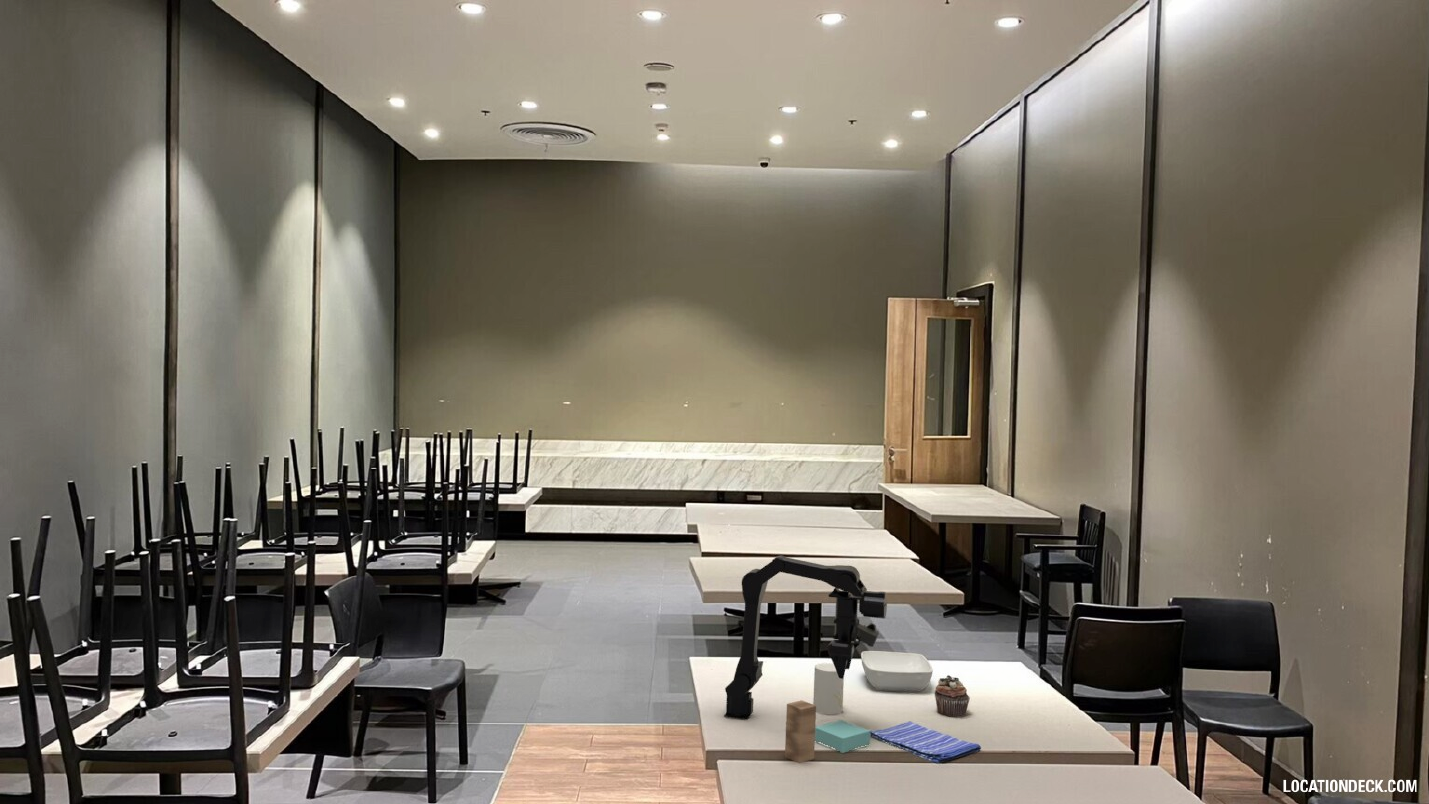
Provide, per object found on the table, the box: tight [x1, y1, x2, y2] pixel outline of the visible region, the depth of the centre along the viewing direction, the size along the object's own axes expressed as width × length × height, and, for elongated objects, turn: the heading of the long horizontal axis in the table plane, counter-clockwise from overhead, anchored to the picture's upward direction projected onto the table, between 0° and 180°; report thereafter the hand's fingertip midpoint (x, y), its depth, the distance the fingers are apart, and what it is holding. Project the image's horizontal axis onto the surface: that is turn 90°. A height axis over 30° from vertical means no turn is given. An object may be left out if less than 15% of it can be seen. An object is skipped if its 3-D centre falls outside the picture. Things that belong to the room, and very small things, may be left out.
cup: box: [812, 662, 845, 716], centre depth 293 cm, size 8×8×12 cm
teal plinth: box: [815, 719, 871, 754], centre depth 267 cm, size 10×10×4 cm
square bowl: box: [860, 650, 934, 693], centre depth 320 cm, size 20×20×8 cm
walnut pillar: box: [784, 699, 817, 764], centre depth 256 cm, size 5×5×13 cm
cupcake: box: [934, 675, 971, 718], centre depth 295 cm, size 10×10×10 cm
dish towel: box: [869, 720, 982, 764], centre depth 269 cm, size 17×24×3 cm
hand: (844, 673), depth 278 cm, fingers open, 9 cm apart
